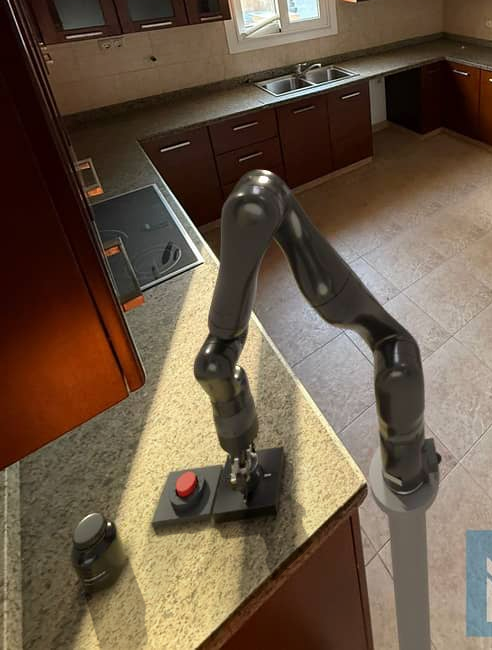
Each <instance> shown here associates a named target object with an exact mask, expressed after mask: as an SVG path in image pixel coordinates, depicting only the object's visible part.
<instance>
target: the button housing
mask: <svg viewBox="0 0 492 650" xmlns="http://www.w3.org/2000/svg"><path fill="white" fill-rule="evenodd" d="M223 470H224V465H223V464H215V465H209V466H208V465H207V466H203V467H195V468H189V469H182V470H175V471H169V473H168V476H167V478H166V480H165V484H164V486H163V490H162V492H161V495H160V498H159V500H158V503H157V506H156V508H155V511H154V514H153V517H152V520H151V522H150V523H151V526H152V528H153V529H155V528H156V529H157V528H163V527H168V526H174V525H175V526H176V525H181V524H188V523H195V522H200V521H206V520H207V521H208V520H212V518H213V515H212V513H213V509H214V506H215V502H216V498H217V494H218V490H219V486H220V482H221V478H222V474H223ZM186 472H193V473H194V474H195V477H196V480H197V485H196V488H195V489H194V491H193V492H192V493H191V494H190V495H188V496H186V497H180V496H179V495H178V493H177V490H176V483H177V481H178V479H179V478H180V476H181V475H183V474H184V473H186Z"/></svg>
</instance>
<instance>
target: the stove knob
mask: <svg viewBox="0 0 492 650" xmlns="http://www.w3.org/2000/svg"><path fill="white" fill-rule="evenodd" d="M246 463H247V461H246ZM249 472H250V478H251V483H252V488H253V487H255V486H256V485H257V483H258V482H259V480H260V477H261V471H260V467H259V462H258V457H257V455H256V454H255V453H253V452H251V467H250V470H249ZM243 474H245V472H243Z"/></svg>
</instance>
